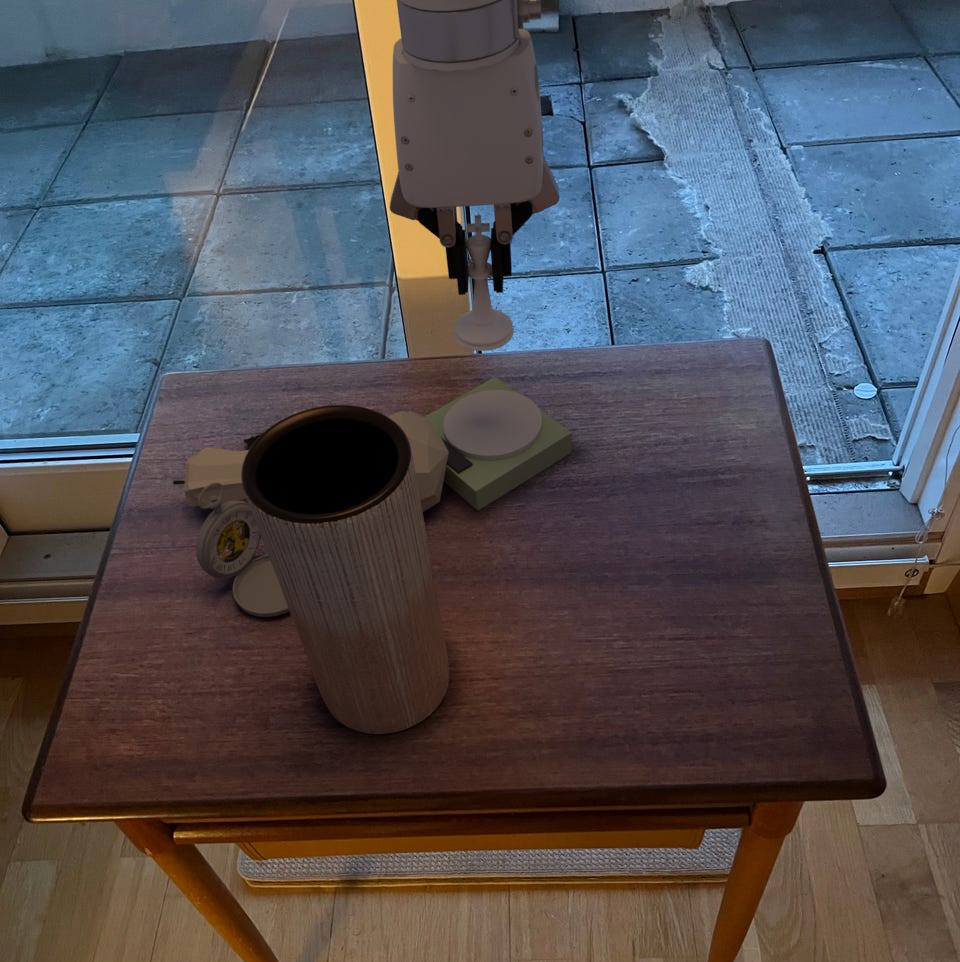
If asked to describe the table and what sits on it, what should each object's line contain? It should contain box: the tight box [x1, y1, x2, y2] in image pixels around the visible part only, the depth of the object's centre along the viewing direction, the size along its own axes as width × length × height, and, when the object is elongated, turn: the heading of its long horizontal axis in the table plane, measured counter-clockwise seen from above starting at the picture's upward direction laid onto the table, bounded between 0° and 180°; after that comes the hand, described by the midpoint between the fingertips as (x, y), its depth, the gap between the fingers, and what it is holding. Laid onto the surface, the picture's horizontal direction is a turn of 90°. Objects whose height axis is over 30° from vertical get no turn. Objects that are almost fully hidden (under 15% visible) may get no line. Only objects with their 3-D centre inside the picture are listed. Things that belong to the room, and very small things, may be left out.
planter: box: [241, 404, 450, 735], centre depth 64 cm, size 10×10×23 cm
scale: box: [424, 376, 573, 511], centre depth 87 cm, size 11×11×3 cm
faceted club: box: [172, 410, 449, 513], centre depth 83 cm, size 9×8×25 cm
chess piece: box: [453, 214, 515, 352], centre depth 74 cm, size 5×5×10 cm
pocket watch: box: [195, 482, 290, 618], centre depth 76 cm, size 8×8×10 cm
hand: (481, 282), depth 74 cm, fingers closed on chess piece
